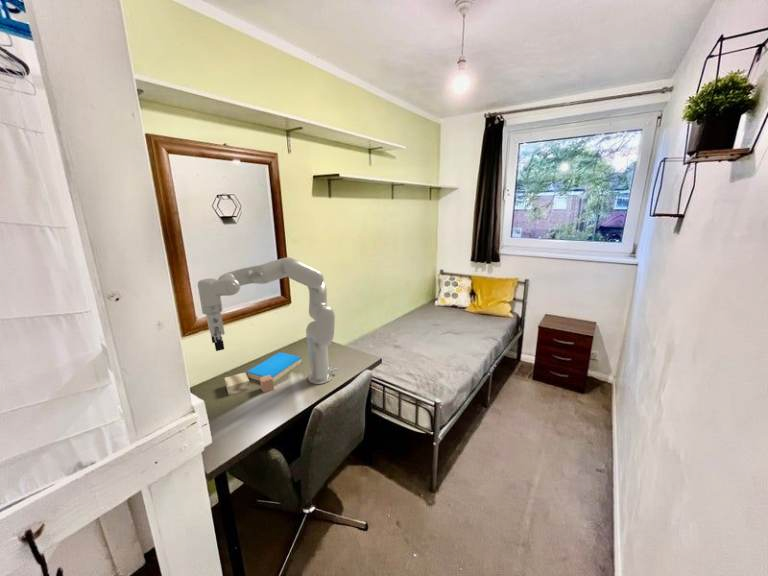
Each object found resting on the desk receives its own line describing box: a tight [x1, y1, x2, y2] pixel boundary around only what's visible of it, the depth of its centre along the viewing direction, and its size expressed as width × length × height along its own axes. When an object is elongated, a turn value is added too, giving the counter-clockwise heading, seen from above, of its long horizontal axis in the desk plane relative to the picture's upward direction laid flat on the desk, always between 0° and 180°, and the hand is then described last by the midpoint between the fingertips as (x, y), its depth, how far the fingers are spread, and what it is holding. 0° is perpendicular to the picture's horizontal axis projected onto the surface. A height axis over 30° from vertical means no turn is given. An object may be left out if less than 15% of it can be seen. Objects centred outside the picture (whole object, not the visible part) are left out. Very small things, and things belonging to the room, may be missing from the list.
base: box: [224, 371, 251, 396], centre depth 163 cm, size 10×10×5 cm
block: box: [259, 375, 275, 394], centre depth 161 cm, size 5×5×6 cm
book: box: [246, 351, 303, 383], centre depth 180 cm, size 17×4×25 cm
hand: (218, 345), depth 138 cm, fingers open, 9 cm apart
